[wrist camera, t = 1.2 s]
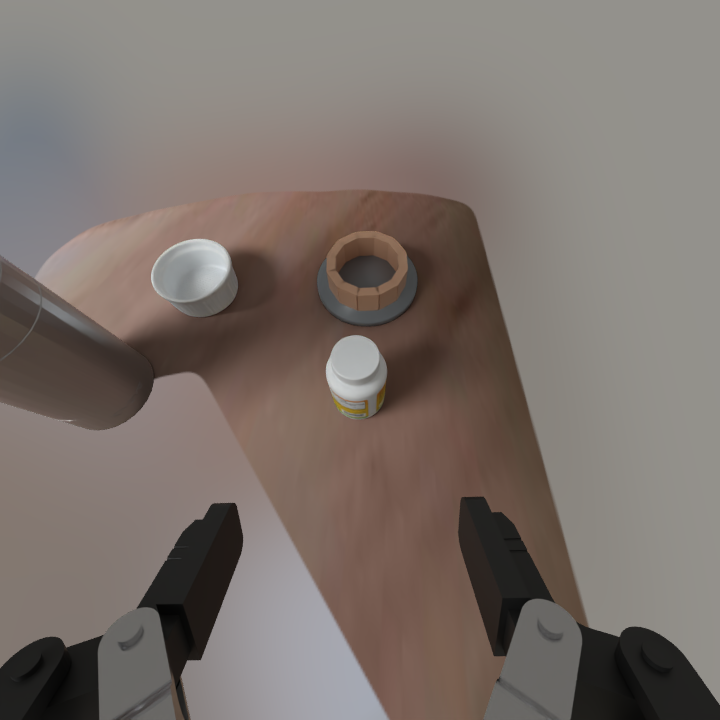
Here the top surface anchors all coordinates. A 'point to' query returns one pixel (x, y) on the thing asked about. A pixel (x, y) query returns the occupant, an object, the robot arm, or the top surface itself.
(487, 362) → the top surface
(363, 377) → the supplement bottle
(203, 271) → the ramekin
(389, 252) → the holder
